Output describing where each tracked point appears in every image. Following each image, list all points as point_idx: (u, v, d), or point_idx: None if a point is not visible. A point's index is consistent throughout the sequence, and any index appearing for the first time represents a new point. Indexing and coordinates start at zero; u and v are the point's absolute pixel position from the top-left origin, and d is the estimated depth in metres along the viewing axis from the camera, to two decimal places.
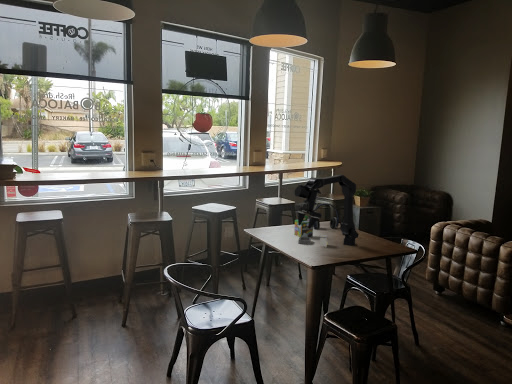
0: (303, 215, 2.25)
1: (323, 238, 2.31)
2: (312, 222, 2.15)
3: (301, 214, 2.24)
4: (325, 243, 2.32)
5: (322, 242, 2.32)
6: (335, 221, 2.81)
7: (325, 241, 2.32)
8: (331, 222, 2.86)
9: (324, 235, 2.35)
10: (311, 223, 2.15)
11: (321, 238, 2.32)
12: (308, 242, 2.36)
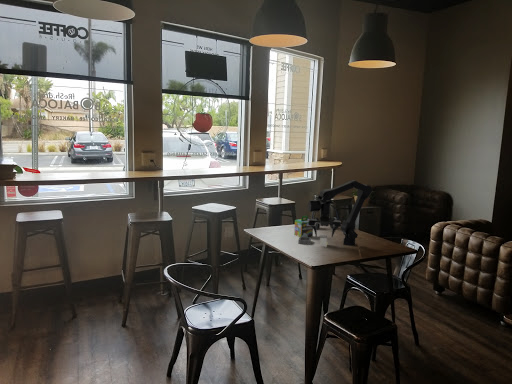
0: None
1: (323, 238, 2.31)
2: None
3: (315, 226, 2.34)
4: (325, 243, 2.32)
5: (322, 242, 2.32)
6: None
7: (325, 241, 2.32)
8: None
9: (324, 235, 2.35)
10: None
11: (321, 238, 2.32)
12: (308, 242, 2.36)
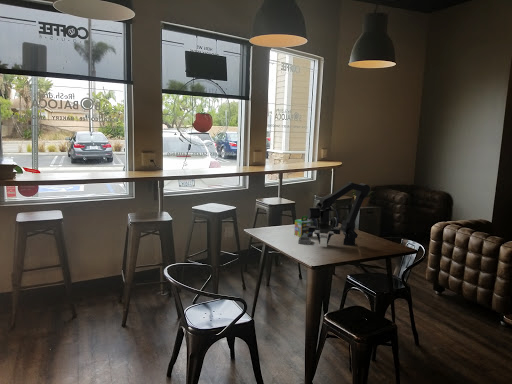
0: (319, 233, 2.36)
1: (323, 238, 2.31)
2: (329, 238, 2.34)
3: (319, 233, 2.34)
4: (325, 243, 2.32)
5: (322, 242, 2.32)
6: (335, 221, 2.81)
7: (325, 241, 2.31)
8: (331, 222, 2.86)
9: (324, 235, 2.34)
10: None
11: (321, 238, 2.32)
12: (308, 242, 2.36)
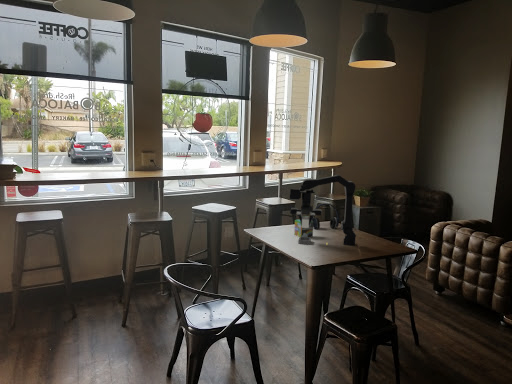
0: (301, 215, 2.40)
1: (305, 219, 2.36)
2: None
3: (301, 215, 2.39)
4: (307, 224, 2.36)
5: (304, 223, 2.36)
6: (335, 221, 2.81)
7: (307, 222, 2.36)
8: (331, 222, 2.86)
9: (306, 217, 2.39)
10: None
11: (303, 219, 2.36)
12: (308, 242, 2.36)
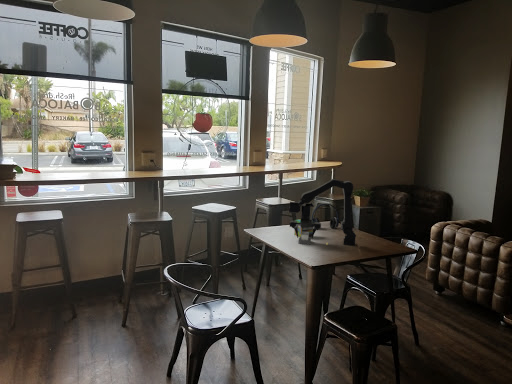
0: (297, 227, 2.42)
1: (304, 235, 2.37)
2: (314, 232, 2.39)
3: (297, 227, 2.40)
4: None
5: (304, 238, 2.38)
6: (335, 221, 2.81)
7: (306, 238, 2.37)
8: (331, 222, 2.86)
9: (306, 232, 2.40)
10: None
11: (302, 235, 2.38)
12: (308, 242, 2.36)
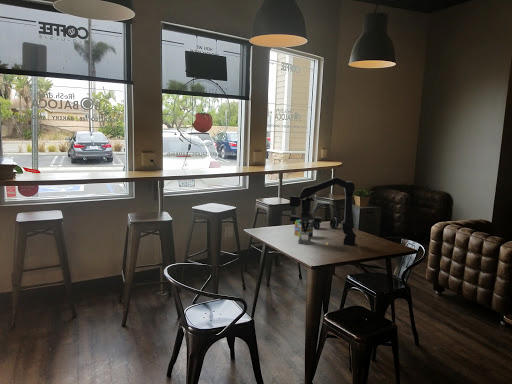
0: (304, 222, 2.41)
1: (304, 235, 2.37)
2: (307, 226, 2.39)
3: (304, 222, 2.39)
4: None
5: (304, 238, 2.38)
6: (335, 221, 2.81)
7: (306, 238, 2.37)
8: (331, 222, 2.86)
9: None
10: (307, 227, 2.39)
11: (302, 235, 2.38)
12: (308, 242, 2.36)
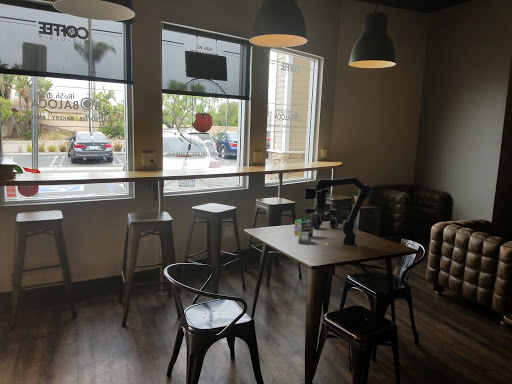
0: None
1: (304, 235, 2.37)
2: (323, 218, 2.38)
3: None
4: None
5: (304, 238, 2.38)
6: (335, 221, 2.81)
7: (306, 238, 2.37)
8: (331, 222, 2.86)
9: (305, 232, 2.40)
10: (322, 220, 2.38)
11: (302, 235, 2.38)
12: (308, 242, 2.36)
